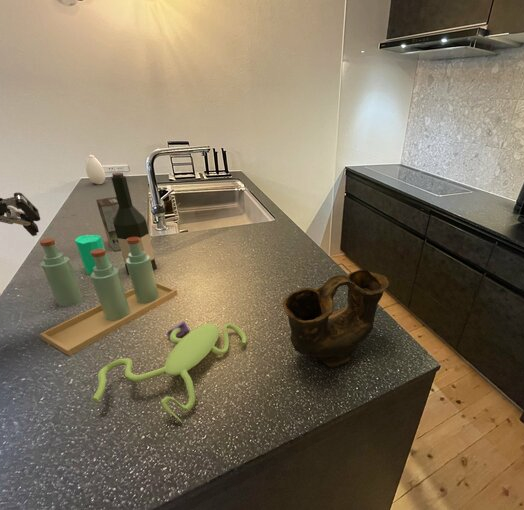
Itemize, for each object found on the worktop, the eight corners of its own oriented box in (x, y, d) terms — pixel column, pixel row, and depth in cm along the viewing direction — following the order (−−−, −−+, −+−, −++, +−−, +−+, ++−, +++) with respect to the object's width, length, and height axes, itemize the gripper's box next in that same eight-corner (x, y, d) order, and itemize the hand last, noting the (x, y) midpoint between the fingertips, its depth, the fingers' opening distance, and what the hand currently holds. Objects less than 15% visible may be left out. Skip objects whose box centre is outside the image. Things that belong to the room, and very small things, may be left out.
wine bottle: (147, 261, 100) (125, 168, 86) (163, 269, 97) (142, 174, 83) (120, 271, 94) (91, 173, 80) (135, 280, 90) (108, 179, 76)
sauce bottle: (107, 185, 169) (97, 151, 161) (89, 186, 166) (79, 151, 157) (108, 181, 175) (99, 149, 167) (91, 182, 171) (81, 149, 163)
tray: (70, 357, 63) (67, 350, 63) (42, 340, 67) (39, 333, 66) (177, 295, 85) (176, 289, 84) (152, 285, 89) (151, 279, 88)
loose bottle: (62, 310, 76) (35, 247, 68) (54, 302, 79) (28, 240, 71) (87, 301, 80) (64, 240, 72) (79, 293, 83) (56, 234, 75)
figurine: (82, 408, 54) (72, 386, 52) (189, 318, 77) (186, 300, 75) (169, 442, 50) (162, 420, 47) (254, 336, 73) (253, 318, 70)
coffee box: (135, 246, 108) (124, 203, 101) (113, 251, 104) (100, 206, 97) (128, 238, 114) (117, 196, 107) (107, 242, 110) (94, 199, 103)
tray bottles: (113, 323, 73) (92, 258, 65) (100, 316, 75) (77, 252, 67) (163, 296, 84) (150, 237, 76) (150, 290, 85) (135, 232, 77)
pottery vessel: (360, 319, 82) (369, 253, 73) (388, 343, 74) (402, 274, 65) (275, 356, 68) (272, 281, 59) (299, 391, 60) (301, 311, 51)
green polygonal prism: (81, 271, 92) (67, 235, 86) (100, 263, 97) (89, 228, 92) (96, 276, 91) (83, 239, 85) (115, 266, 96) (104, 231, 90)
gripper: (0, 158, 54) (47, 215, 67) (-125, 175, 47) (-45, 235, 60) (8, 189, 51) (55, 242, 64) (-123, 212, 44) (-40, 266, 57)
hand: (7, 239), depth 62 cm, fingers open, 8 cm apart
